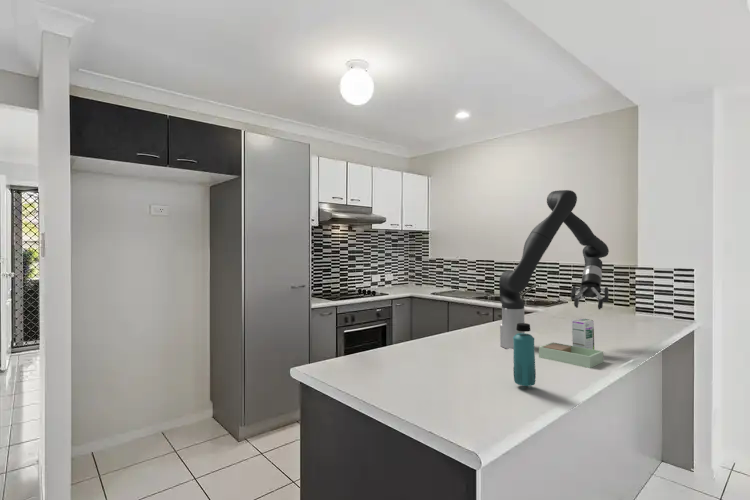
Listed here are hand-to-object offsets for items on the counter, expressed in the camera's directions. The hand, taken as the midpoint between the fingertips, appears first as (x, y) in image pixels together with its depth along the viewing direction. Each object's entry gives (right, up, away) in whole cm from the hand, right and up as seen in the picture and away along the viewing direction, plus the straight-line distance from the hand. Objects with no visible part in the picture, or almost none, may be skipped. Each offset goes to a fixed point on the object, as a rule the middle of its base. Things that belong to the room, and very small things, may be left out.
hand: (587, 307), depth 172 cm
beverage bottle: (-43, -19, -44) cm, 64 cm away
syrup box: (-7, -18, -9) cm, 21 cm away
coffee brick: (-18, -18, -12) cm, 28 cm away
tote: (-15, -18, -16) cm, 29 cm away
